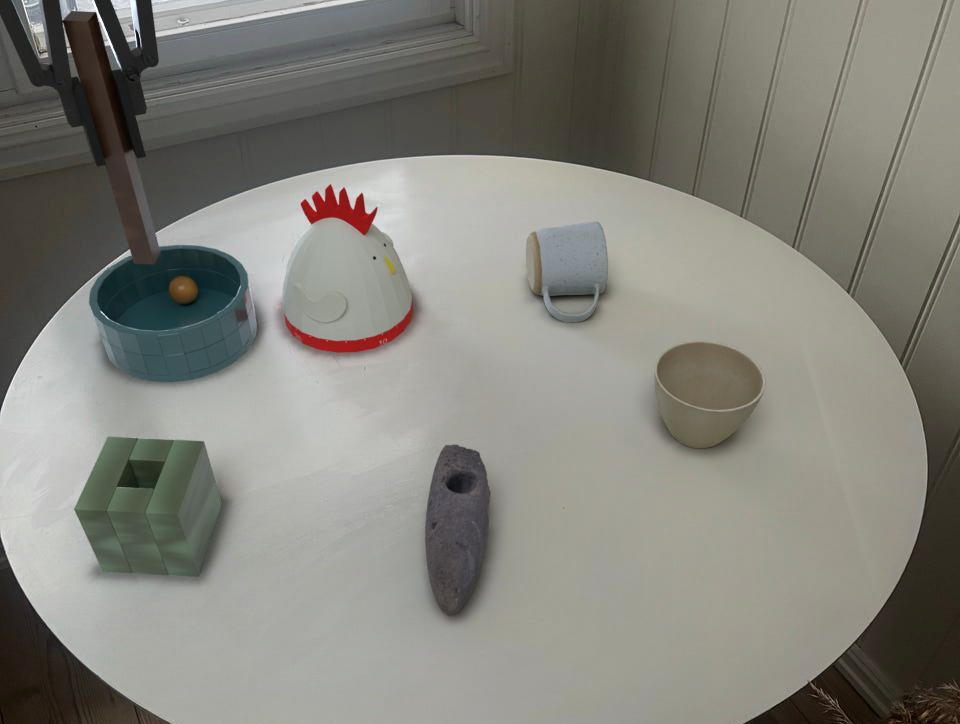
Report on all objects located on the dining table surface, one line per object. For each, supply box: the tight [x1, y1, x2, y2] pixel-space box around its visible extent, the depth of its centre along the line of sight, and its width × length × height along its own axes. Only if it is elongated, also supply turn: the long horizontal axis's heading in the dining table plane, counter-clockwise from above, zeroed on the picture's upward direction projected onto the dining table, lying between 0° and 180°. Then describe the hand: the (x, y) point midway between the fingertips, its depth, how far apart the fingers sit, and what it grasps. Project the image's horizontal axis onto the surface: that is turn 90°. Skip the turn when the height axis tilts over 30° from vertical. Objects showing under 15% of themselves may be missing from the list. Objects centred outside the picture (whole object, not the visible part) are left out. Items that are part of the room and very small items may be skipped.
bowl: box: [88, 244, 258, 383], centre depth 96 cm, size 16×16×6 cm
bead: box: [169, 276, 198, 304], centre depth 99 cm, size 3×3×3 cm
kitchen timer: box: [281, 183, 414, 354], centre depth 95 cm, size 14×14×15 cm
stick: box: [62, 10, 161, 265], centre depth 80 cm, size 2×2×22 cm
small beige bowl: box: [653, 340, 767, 449], centre depth 86 cm, size 10×10×7 cm
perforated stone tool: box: [424, 444, 491, 617], centre depth 75 cm, size 15×5×7 cm, turn 175°
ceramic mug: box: [525, 221, 609, 323], centre depth 101 cm, size 11×8×8 cm
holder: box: [73, 436, 223, 578], centre depth 76 cm, size 8×8×8 cm
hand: (118, 154), depth 80 cm, fingers closed on stick, 3 cm apart
